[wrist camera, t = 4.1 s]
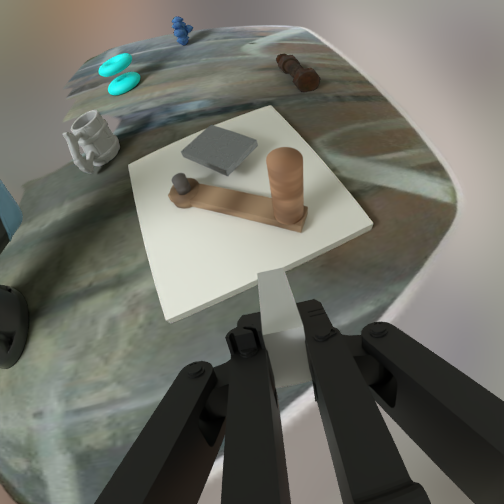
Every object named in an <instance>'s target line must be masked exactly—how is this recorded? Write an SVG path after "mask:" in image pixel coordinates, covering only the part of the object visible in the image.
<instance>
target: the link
mask: <svg viewBox="0 0 504 504" xmlns="http://www.w3.org/2000/svg"><path fill="white" fill-rule="evenodd" d="M266 164H267V170H268V177H269V183H270V190H271V197H272V198H268V197H264V196H259V195H255V194H250V193H245V192H240V191H236V190H231V189H226V188H221V187H215V186H210V185H205V184H200V183H198V181H197V180H195V179H193V178H186V175H185V174H184V173H178V174H176V175H174V176H173V177H172V183H173V186H172V187H171V189H170V192H169V194H168V197H169V199H170V200H171V202H173V203H174V204H175V206H176V207H178V208H182V209H185V208H190V207H197V208H201V209H205V210H210V211H214V212H218V213H222V214H226V215H231V216H235V217H239V218H243V219H247V220H251V221H255V222H259V223H263V224H267V225H271V226H275V227H279V228H283V229H287V230H291V231H295V232H299V233H301V232H302V229H303V226H304V223H305V220H306V217H307V214H308V207H307V206H304V186H303V156H302V154H301V153H300V152H299V151H298V150H296V149H294V148H291V147H280V148H276V149H274V150H272V151H271V152H270V153H269V154H268V155H267V157H266Z"/></svg>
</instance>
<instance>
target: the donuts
mask: <svg viewBox="0 0 504 504" xmlns="http://www.w3.org/2000/svg"><path fill="white" fill-rule="evenodd" d="M131 61H132V56H131V55H130V54H128V53H123V54H120V55H117V56H115V57H113V58H111V59H109V60H107V61H106V62H105V63H103V64H102V65H101V67H100V68H99V74H100V75H101V76H103V77H109V76H112V75H115V74H117V73H119V72H121V71H123V70H124V69H125V68H127V67H128V66H129V65H130V63H131ZM139 81H140V75H139V74H138V73H136V72H127V73H124V74H122V75H120V76H118V77H117V78H115V79H114V80H113V81H112V82H111V83H110V85H109V87H108V92H109V93H110V94H111V95H120V94H123V93H126V92H128V91H129V90H131V89H133V88H134V87H135V86H136V85H137V84H138V83H139Z"/></svg>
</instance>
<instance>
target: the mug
mask: <svg viewBox="0 0 504 504" xmlns="http://www.w3.org/2000/svg"><path fill="white" fill-rule="evenodd" d="M107 125H108V123H107V122H106V120H105V119H103V118H102V116H101V115H100V113H99V112H98V110H92V111H88V112H86V113H84V114H83V115H81V116H80V117H79V118H78V119H77V120H76V121H75V122H74V124H73V125H72V127H71V131H72V133H73V134H71V133H69V132H65V133H63V134H62V135H63V136H64V137H65V139H66V141H67V143H68V147H69V149H70V152H71V155H72V157H73V159H74V163H75V165H76V166H78V167H79V168H80V170H82V171H83V172H86V173H89V174H92V173H93V165H94V166H102V165H104V164H106V163H108V162H109V161H110V160H112V159H113V158H114V157H115V156H116V155H117V154H118V150H119V149H120V144H119V140H118V138H117V137H116V136H115V135H113V133H112V132H111V130H110V129H109V127H108V126H107ZM79 145H80V146H81V147H82V148H83V150H84V152H85V153H86V159H84V158H83V157H82V155H81V154H80V152H79Z"/></svg>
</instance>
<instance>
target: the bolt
mask: <svg viewBox="0 0 504 504" xmlns="http://www.w3.org/2000/svg"><path fill="white" fill-rule="evenodd" d="M276 61H277V63H278V66H279V67H280V69H281V70H282V71H283V72H284V73H285V74H290V75H291V76H292V77H293V78H294V79H293V83H294V84H295V85H296V86H297V87H298V89H299V90H300V91H301V92H308V91H312V90H315V89H316V88H317V87H318V85H319V82H320V77H319V76H318V74H317V73H316V72H315V71H314V69H312V68H306V69H304V68H303V67H302V66H301V65H300V63H299V61H298V60H297V59H296V58H295V57H294V56H293V55H287V54H280V55H278V56H277V58H276Z"/></svg>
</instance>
